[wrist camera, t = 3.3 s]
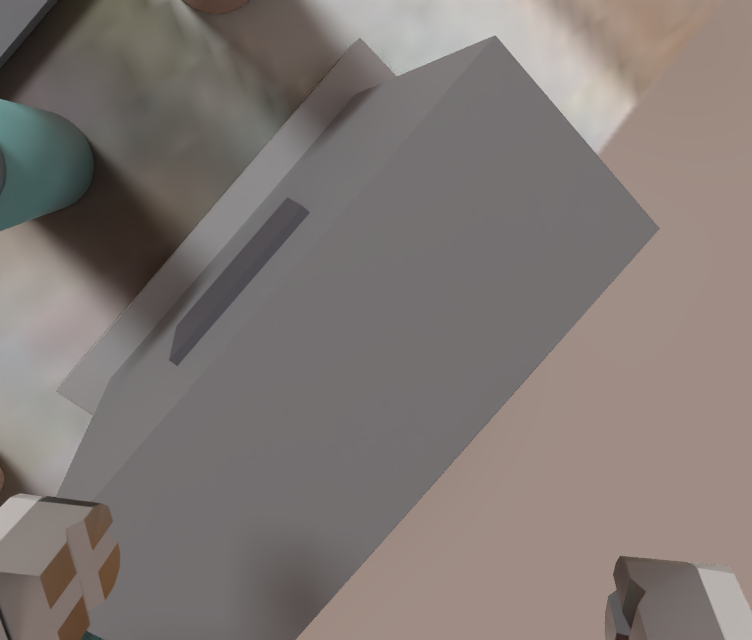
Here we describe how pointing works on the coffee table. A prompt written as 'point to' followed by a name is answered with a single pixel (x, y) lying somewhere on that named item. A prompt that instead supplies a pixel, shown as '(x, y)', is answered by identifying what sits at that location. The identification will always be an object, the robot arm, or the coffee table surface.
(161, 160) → the coffee table surface
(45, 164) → the cylinder
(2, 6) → the pad
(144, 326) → the block
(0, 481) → the figurine
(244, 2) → the terracotta cartridge
